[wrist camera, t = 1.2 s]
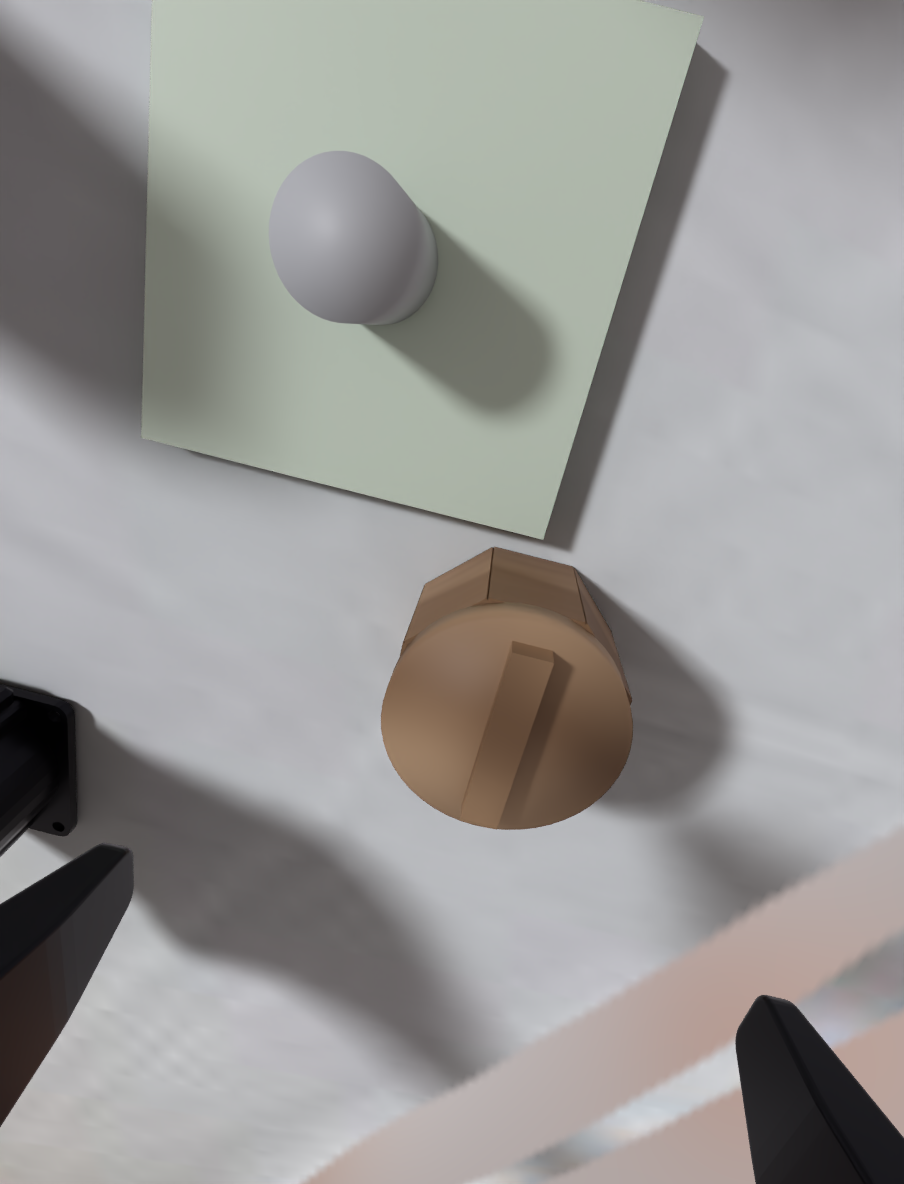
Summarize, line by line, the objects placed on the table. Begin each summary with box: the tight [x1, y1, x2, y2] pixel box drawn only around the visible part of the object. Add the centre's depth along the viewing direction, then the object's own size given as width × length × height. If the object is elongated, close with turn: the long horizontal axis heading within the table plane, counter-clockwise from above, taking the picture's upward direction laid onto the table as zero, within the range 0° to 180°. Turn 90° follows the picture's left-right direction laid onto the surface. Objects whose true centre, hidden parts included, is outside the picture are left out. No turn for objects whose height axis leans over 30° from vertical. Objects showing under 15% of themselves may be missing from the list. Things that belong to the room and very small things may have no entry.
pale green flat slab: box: [141, 0, 704, 540], centre depth 14 cm, size 12×12×4 cm
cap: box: [381, 547, 633, 830], centre depth 18 cm, size 6×6×6 cm
